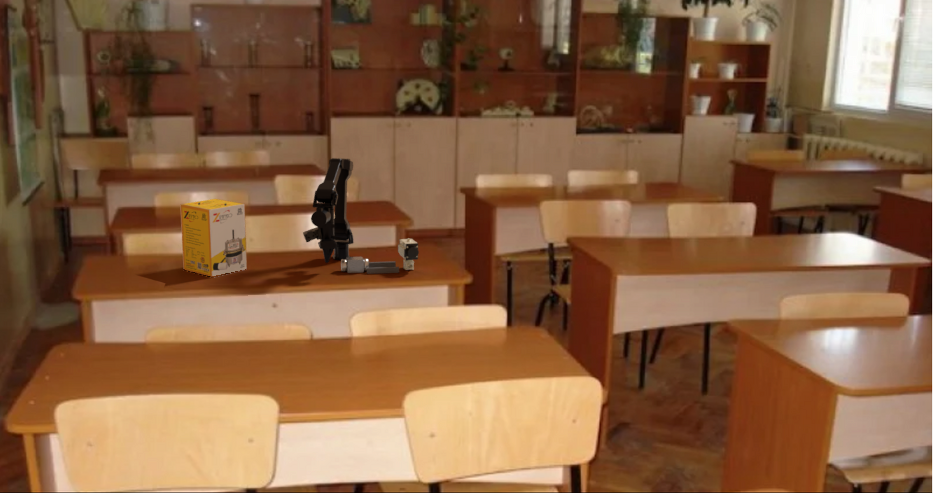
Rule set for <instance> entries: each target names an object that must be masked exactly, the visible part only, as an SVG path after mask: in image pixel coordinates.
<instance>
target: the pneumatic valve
mask: <svg viewBox="0 0 933 493" xmlns="http://www.w3.org/2000/svg"><path fill="white" fill-rule="evenodd" d="M397 252H398V253H399V256H400V257H402V258H403V260H402V262H403V266H402V268H403V269H404V270H405V271H409V270H412V271H413V270H414V269H415V267H414V265H415V264H414V263H415V261H417V260H419V254H420V251H419V243H418V242H417V241H415V240H414V239H413V238H409V237H408V238H399V243H398V244H397ZM414 260H415V261H414Z"/></svg>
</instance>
